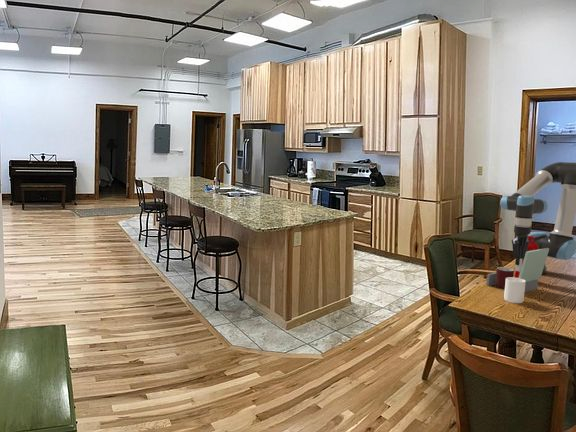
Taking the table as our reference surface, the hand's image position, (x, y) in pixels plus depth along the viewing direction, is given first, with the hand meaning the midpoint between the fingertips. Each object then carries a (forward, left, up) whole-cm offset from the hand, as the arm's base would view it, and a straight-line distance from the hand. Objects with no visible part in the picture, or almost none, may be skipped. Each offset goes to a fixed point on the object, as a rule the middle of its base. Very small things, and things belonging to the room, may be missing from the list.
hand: (517, 270), depth 231 cm
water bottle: (-13, -4, -8) cm, 16 cm away
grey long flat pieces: (+4, 0, -8) cm, 9 cm away
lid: (+4, +10, +6) cm, 12 cm away
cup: (+21, +12, -9) cm, 26 cm away
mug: (+9, 0, -8) cm, 12 cm away
